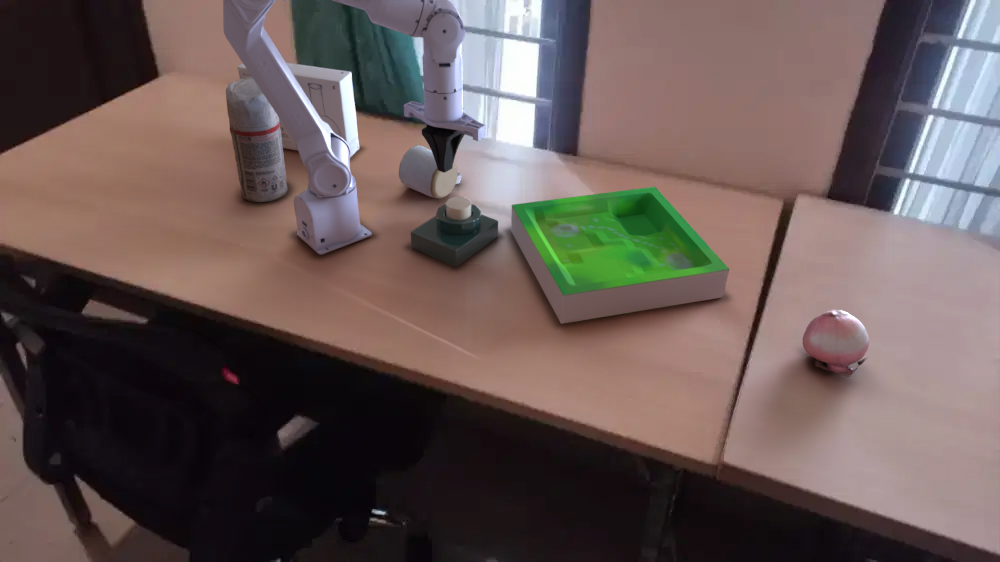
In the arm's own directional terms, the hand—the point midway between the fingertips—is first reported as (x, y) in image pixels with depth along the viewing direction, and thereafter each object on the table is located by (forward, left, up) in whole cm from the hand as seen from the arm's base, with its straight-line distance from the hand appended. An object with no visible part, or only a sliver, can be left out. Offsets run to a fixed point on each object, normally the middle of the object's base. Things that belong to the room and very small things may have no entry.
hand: (445, 169), depth 122 cm
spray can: (-18, +29, -11) cm, 36 cm away
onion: (+20, -58, -11) cm, 63 cm away
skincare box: (-4, +41, -11) cm, 42 cm away
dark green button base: (-2, -5, -10) cm, 12 cm away
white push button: (-1, -5, -6) cm, 8 cm away
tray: (+14, -24, -10) cm, 30 cm away
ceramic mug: (+6, +12, -11) cm, 17 cm away
